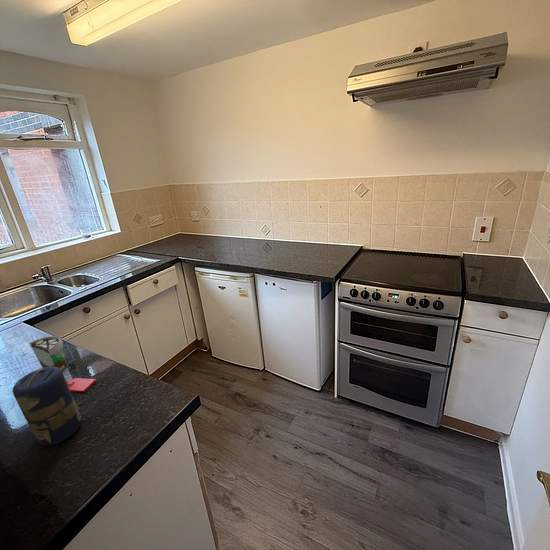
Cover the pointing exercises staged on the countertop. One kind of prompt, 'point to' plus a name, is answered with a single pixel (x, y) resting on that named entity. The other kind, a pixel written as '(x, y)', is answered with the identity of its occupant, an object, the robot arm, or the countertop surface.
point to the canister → (47, 405)
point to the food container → (49, 352)
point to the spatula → (80, 384)
